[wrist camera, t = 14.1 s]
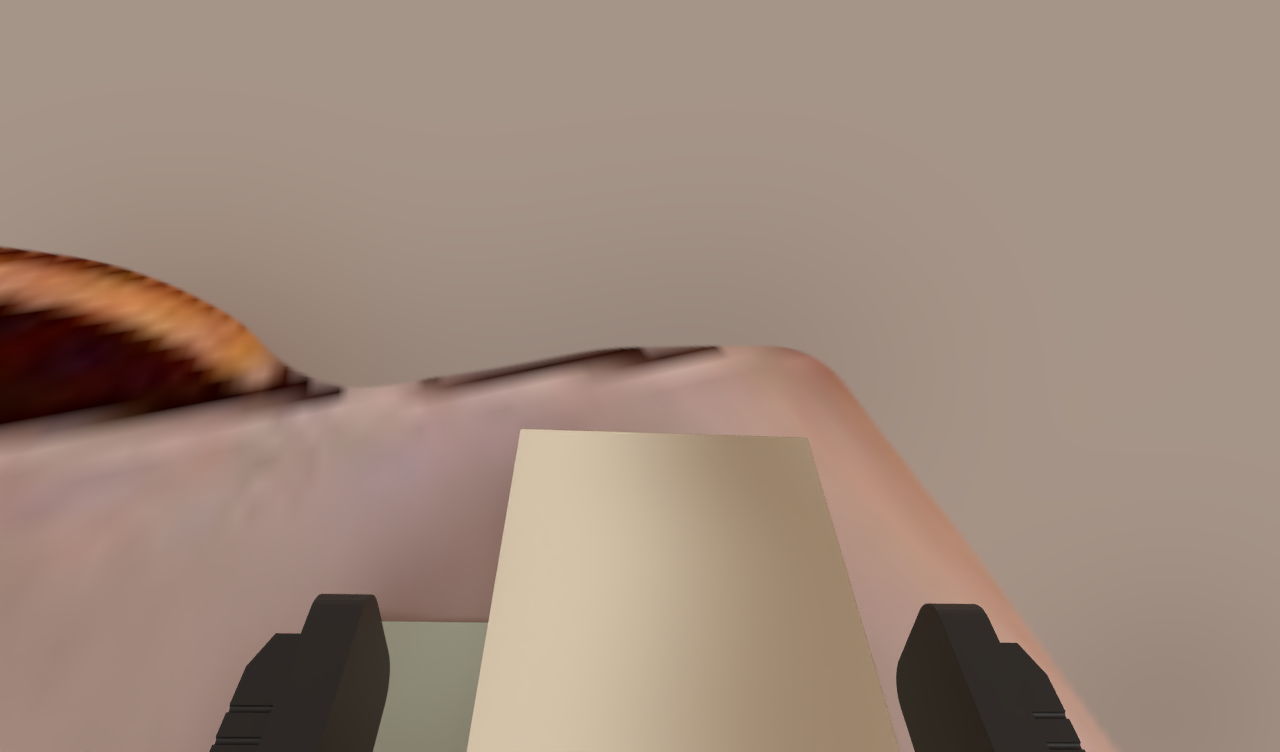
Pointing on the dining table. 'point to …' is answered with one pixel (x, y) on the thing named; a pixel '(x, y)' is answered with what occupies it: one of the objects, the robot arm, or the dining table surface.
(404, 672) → the mat
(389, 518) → the dining table surface
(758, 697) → the block
